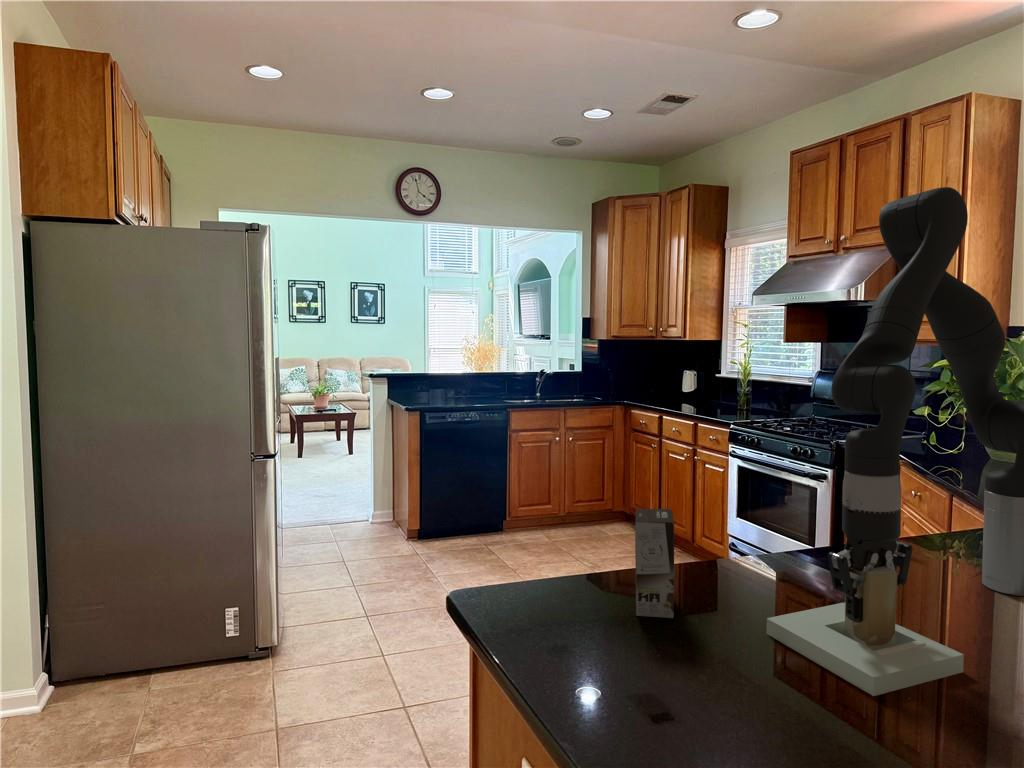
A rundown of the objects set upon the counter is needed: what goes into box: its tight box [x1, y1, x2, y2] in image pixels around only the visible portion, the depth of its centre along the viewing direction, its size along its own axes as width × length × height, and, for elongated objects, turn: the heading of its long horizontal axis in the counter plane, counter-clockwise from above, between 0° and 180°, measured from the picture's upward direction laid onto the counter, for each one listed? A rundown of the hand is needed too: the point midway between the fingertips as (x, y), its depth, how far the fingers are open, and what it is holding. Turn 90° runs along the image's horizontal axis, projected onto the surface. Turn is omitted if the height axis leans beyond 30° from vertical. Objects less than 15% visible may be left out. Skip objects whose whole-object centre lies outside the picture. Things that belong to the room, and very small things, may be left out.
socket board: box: [766, 601, 965, 697], centre depth 102 cm, size 16×20×3 cm
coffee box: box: [634, 508, 675, 619], centre depth 120 cm, size 9×6×16 cm
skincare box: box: [844, 566, 898, 651], centre depth 102 cm, size 6×4×12 cm
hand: (869, 616), depth 102 cm, fingers closed on skincare box, 5 cm apart
